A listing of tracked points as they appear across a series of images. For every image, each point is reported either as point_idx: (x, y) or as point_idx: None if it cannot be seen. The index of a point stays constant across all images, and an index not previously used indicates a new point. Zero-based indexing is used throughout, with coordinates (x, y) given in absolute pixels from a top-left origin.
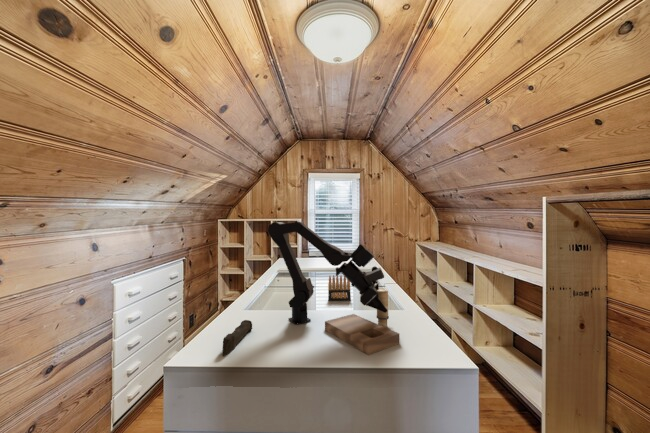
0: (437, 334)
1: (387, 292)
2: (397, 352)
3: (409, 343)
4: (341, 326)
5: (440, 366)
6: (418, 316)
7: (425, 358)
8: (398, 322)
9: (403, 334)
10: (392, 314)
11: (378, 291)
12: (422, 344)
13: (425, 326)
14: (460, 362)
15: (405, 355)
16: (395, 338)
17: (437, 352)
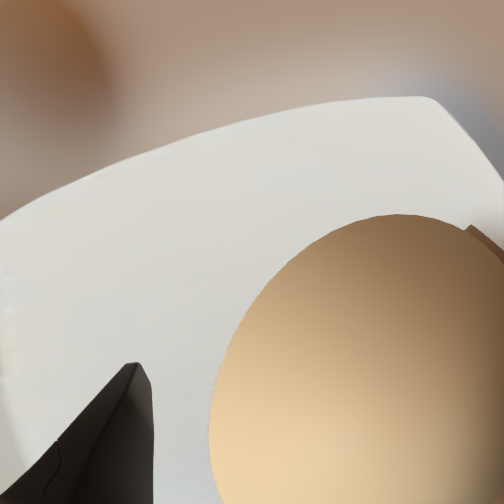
0: (277, 121)
1: (431, 229)
2: (495, 242)
3: (425, 209)
4: (496, 500)
5: (473, 144)
6: (65, 204)
7: (470, 168)
8: (175, 293)
9: None
10: (51, 343)
11: (494, 473)
12: (402, 167)
13: (196, 159)
14: (428, 105)
15: (492, 217)
16: None
17: (421, 136)
